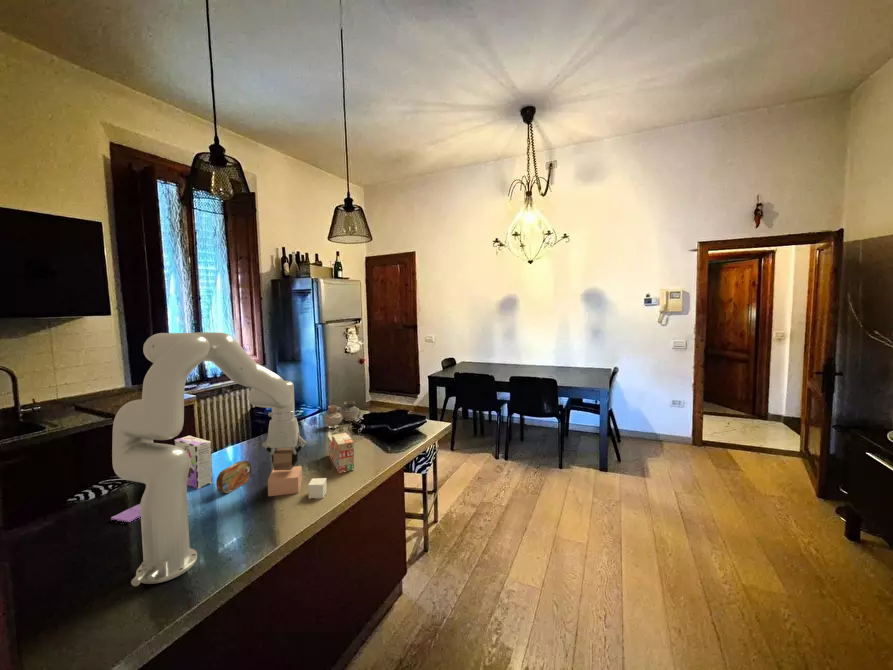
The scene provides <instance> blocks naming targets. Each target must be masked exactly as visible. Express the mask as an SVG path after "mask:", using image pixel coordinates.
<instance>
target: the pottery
mask: <svg viewBox="0 0 893 670" xmlns="http://www.w3.org/2000/svg"><path fill="white" fill-rule="evenodd" d="M355 404H356V402H355V401H352V400H351V401H350V400H349V401H344V402H343V407H342V408H340V409H339V412H338V408H339V407H338V405H335V404H334V405H329V406H327V408H328V413H326V414H324V416H323V420H324V422H325V424H326V425H327V426H335V425H338V424H339V425H340V423H341V422H342V420H343V419H344V418H354V417H356V418H357V417H358V415H359V414H360V408H358V407H356V406H355ZM342 417H343V418H342Z"/></svg>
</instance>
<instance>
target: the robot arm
mask: <svg viewBox="0 0 893 670" xmlns="http://www.w3.org/2000/svg"><path fill="white" fill-rule="evenodd" d="M142 349H143V350H142V351H143V355H144V356H145V358H146V359H147V360H148V361H150V362H151V363H152V365H151V366H150V368H149V369H148V370H147V372H146V374H145V376H144V378H143V382H142V393H141V398H139V399H134V400H131V401H128V402H126V403H125V404H124V405H122V406H121V407H120V408H119V410H118V411H117V413H116V414H115V417H114V420H113V423H112V424H113V425H112V441H111V442H112V443H111V444H112V447H111V448H112V450H111V453H112V454H111V457H112V459H111V460H112V461H111V462H112V469H113V471H114V473H115V475H116V476H117V477H118V478H120V479H122V480H126V481H129V482H136V483H141V484H145V489H144V492H143V494H142V497H141V498H140V499H141V500H140V503H139V504H140V514H141V518H140V523H141V524H140V525H141V539H142V540H141V543H142V556H143V557H142V558H143V561H142V562H141V564H140V565H139V567H138V568H137V569H136V571H135V572H136V573H135V576H134V577H133V578H132V579H131V580H130V584H131V585H132V586H133V587H138V586H139V585H140V584H141V583H142V584H144V585H145V584H147V585H153V584H154V585H155V584H160V583H164V582H168V581H170V580H173V579H175V578H177V577H179V576H181V575H183V574H186V572H188V571H189V570H190V569H191V568H193V566H194V565H196V562H197V561H198V552H197V550H195V549H194V548H191V546H190V544H191V543H190V529H189V525H190V523H189V510H188V509H189V507H188V491H187V490H188V485H187V479H188V473H189V467H190V458H189V455H188V453H187V452H186V451H185V450H184V449H182V448H180V447H178V446H175V444H174V445H173V444H168V443H159V442H154V441H166V440H167V441H168V440H172V439H174V438H175V437H177V436H179V434H180V433H181V432H182V431H183V427H184V420H185V388H186V382H187V379H188V377H189V375H190V374H191V373H192V371H194V370H195V368H196V367H198V366H199V365H200V364H201V363H202V362H211V363H213V364H214V365H215V366H216V367H217V368H219V370H221V372H223V374H225V376H226V377H228V379H230V381H232V382H234V383H235V384H238V385H241V386H243V387H246V388H251V389H250V391H249V392H248V396H247V399H248V402H249V403H250V405H252V406H255V407H258V408H268V409H271V412H268V414H267V416H268V417H271V419H270V420H269V424H268V430H267V439H266V440H265V441H264V442H263V443H262V444H261V446H262V447H263V448H264V449H266V451H267V452H268V453H270V455H271V463H272V466H273V467H274V463H273V454H274V453H275V452H276V451H277V450H278V449H279V448H291V449H292V452H293V455H292V465H295V466H296V464H297V463H298V461H299V452H301V450H302V449H303V448H304V447H305V446H306V445H307V441H306V440H305V439H304V438H303V437H302V436H301V435H300V427H299V422H298V419H297V417H296V415H295V414H296V412H295V411H296V410H295V409H296V408H295V385H294V382H292V381H290V380H285V379H283V377H281V376H280V375H278V374H277V373H275V372H273V371H272V370H271V369H269V368H267V367H265V366H264V365H262V364H259V363H258V362H256V361H255V360H254V359H253V358H252V357H251V356H250V355H249V354H248V353H247V351H245V349H244V348H243V347H242V346H241V344H239V342H237V340H236V339H235V338H234V337H233V336H232V335H230V334H228V333H225V332H206V331H204V332H203V331H202V332H197V331H196V332H160V333H155V334H153V335H151V336H149V337H148V338H147V339H146V341H145V342H144V343H143V347H142ZM298 444H300V445H299V446H298Z"/></svg>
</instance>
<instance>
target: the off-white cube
mask: <svg viewBox="0 0 893 670" xmlns="http://www.w3.org/2000/svg"><path fill="white" fill-rule="evenodd" d="M307 485H308V486H307V488H308V489H307V490H308V491H307V494H308V496H307V497H308V500H309V499H310V500H311V498H315V499H324V498H323V497H325V496H324V495H326V494H325V493H327V492H326V491H327V487H328V486H327V477H317V478H311V480H310V481H309V483H308V484H307Z"/></svg>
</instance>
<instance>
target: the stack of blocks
mask: <svg viewBox="0 0 893 670" xmlns="http://www.w3.org/2000/svg"><path fill="white" fill-rule="evenodd" d="M326 438H327V451H328V453H327V455H328V454H329V456H330V457H329V456H328V457H329V459H330V458H331V459H330V461H331V460H332V461H331V463H332V462H333V463H334V464H333V463H332V464H333V466H334V465H335V466H334V468H335V467H336V468H335V470H336V469H337V470H336V472H337V471H338V472H337V473H338V474H341V473H340V472H344V471H348V470H352V469H354V470H355V460H354V457H355V448H354V447H355V441H354V440H353V438H351V436H350V435H349V434H348V433H347V432H342V433H336V434H329V435H327V437H326ZM344 473H345V472H344Z"/></svg>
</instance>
